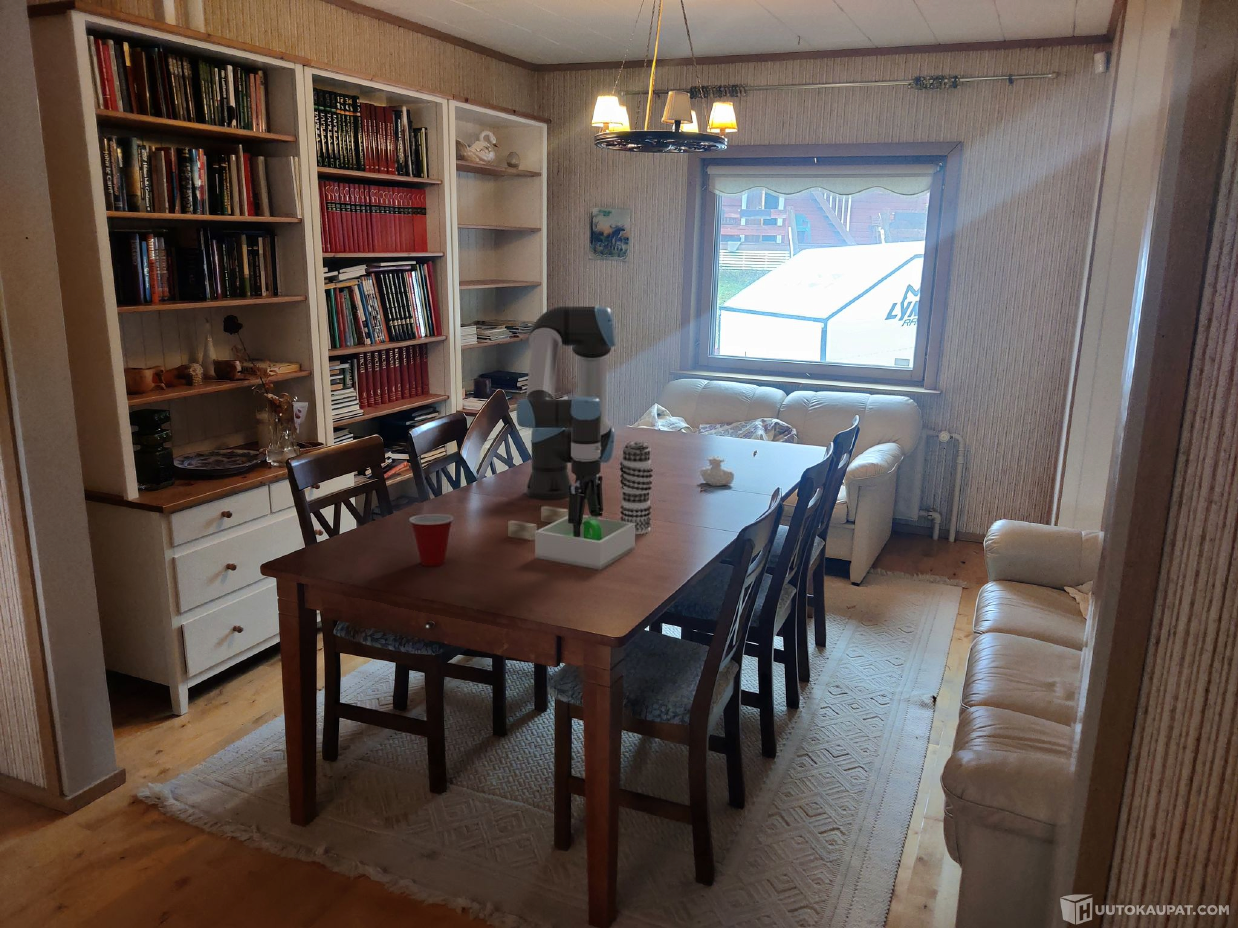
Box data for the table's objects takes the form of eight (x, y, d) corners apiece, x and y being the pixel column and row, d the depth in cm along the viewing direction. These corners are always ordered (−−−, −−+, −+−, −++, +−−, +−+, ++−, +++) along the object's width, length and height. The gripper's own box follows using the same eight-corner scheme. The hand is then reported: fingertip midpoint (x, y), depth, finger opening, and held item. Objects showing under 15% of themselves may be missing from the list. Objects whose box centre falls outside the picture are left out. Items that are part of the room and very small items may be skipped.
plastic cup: (457, 555, 232) (456, 510, 229) (451, 569, 222) (450, 522, 219) (415, 555, 232) (413, 510, 229) (407, 569, 221) (405, 522, 219)
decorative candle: (614, 526, 258) (615, 441, 253) (644, 523, 261) (645, 439, 256) (625, 535, 250) (626, 447, 244) (656, 532, 253) (658, 445, 248)
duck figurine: (699, 489, 310) (693, 468, 302) (704, 472, 314) (699, 451, 306) (732, 493, 305) (727, 472, 297) (738, 476, 310) (733, 454, 302)
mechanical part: (612, 548, 233) (612, 518, 231) (596, 553, 228) (596, 523, 226) (578, 538, 240) (578, 509, 239) (562, 543, 236) (562, 513, 234)
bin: (535, 557, 231) (535, 531, 229) (572, 538, 247) (572, 513, 246) (600, 569, 222) (600, 542, 221) (634, 548, 239) (635, 523, 237)
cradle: (508, 536, 249) (508, 522, 248) (544, 519, 265) (544, 506, 264) (532, 540, 245) (532, 526, 244) (568, 522, 262) (568, 509, 261)
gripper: (579, 467, 219) (579, 557, 224) (617, 452, 236) (616, 536, 241) (552, 464, 222) (553, 552, 228) (592, 449, 240) (591, 532, 245)
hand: (585, 543), depth 234 cm, fingers closed on mechanical part, 7 cm apart
